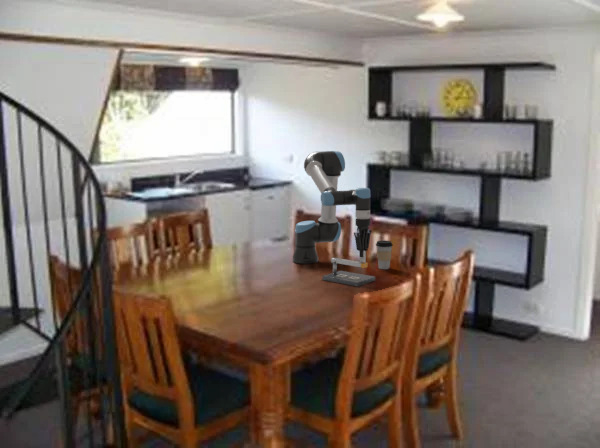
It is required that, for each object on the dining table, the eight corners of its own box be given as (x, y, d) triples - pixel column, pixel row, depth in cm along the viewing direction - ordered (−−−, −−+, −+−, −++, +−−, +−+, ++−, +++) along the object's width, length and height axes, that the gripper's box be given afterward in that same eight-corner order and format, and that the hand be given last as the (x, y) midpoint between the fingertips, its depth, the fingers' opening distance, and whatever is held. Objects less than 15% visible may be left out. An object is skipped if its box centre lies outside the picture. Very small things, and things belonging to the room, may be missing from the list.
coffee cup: (392, 266, 374) (392, 240, 372) (392, 270, 365) (393, 243, 362) (375, 266, 375) (375, 240, 373) (375, 269, 366) (375, 243, 363)
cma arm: (329, 262, 347) (329, 258, 347) (334, 261, 350) (334, 257, 350) (363, 268, 333) (363, 263, 333) (368, 266, 336) (368, 262, 336)
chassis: (322, 279, 344) (322, 264, 342) (340, 274, 356) (340, 259, 355) (357, 286, 330) (357, 270, 328) (375, 280, 342) (375, 265, 341)
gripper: (361, 220, 333) (361, 266, 336) (376, 217, 343) (375, 261, 346) (349, 218, 338) (349, 264, 341) (364, 216, 347) (363, 260, 351)
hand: (362, 263), depth 344 cm, fingers closed
